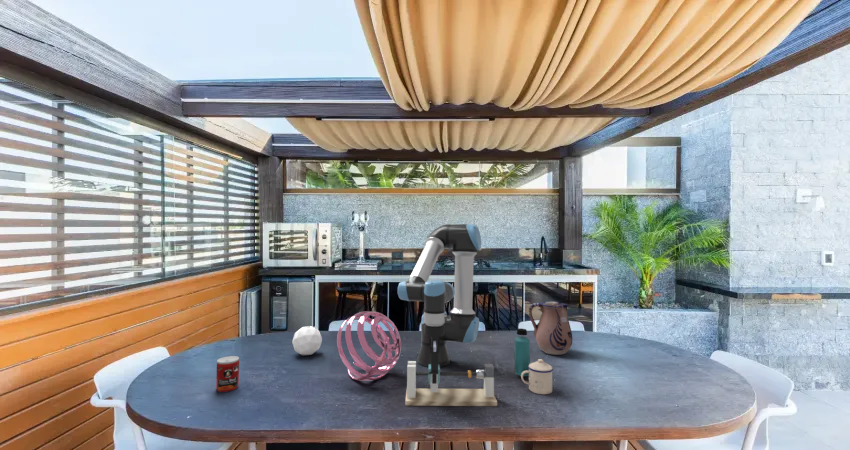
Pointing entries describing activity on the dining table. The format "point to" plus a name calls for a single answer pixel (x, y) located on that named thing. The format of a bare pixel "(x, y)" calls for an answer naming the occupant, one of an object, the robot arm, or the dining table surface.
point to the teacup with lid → (539, 377)
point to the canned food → (227, 373)
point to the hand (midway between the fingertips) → (433, 388)
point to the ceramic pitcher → (552, 328)
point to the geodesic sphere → (307, 340)
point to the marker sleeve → (438, 373)
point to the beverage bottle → (522, 353)
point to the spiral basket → (384, 345)
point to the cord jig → (451, 390)
